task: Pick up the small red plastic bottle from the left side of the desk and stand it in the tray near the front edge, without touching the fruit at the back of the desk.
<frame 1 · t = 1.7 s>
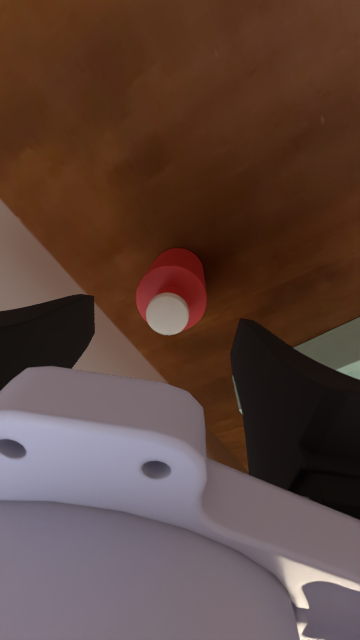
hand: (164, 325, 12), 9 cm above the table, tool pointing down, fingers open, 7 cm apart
tray: (325, 388, 24), on the table
bottle: (177, 274, 20), on the table
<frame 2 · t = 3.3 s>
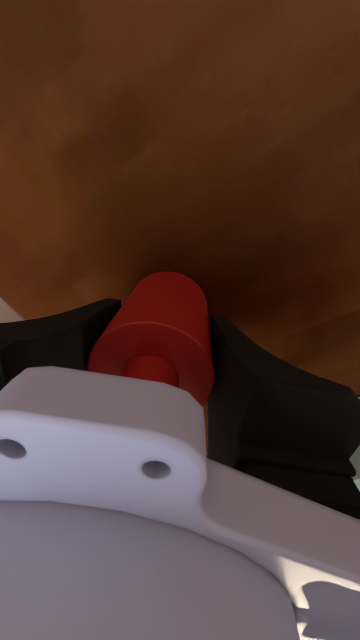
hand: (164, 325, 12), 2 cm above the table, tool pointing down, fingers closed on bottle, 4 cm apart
bottle: (168, 309, 14), on the table, touching gripper
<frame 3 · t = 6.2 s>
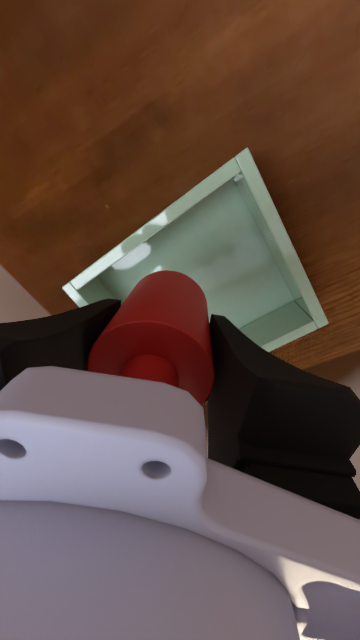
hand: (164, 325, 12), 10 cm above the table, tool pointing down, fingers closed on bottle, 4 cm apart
tray: (195, 285, 21), on the table
bottle: (168, 308, 14), point 8 cm above the table, touching gripper
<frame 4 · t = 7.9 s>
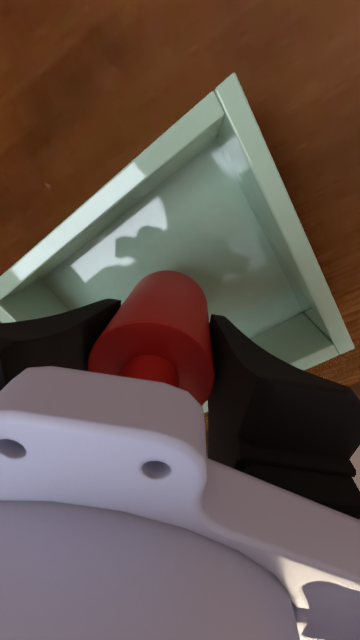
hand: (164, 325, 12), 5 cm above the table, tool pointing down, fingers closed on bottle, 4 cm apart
tray: (172, 292, 16), on the table
bottle: (168, 308, 14), point 3 cm above the table, touching gripper
when the fingers open (2 cm above the table, at t = 9.1 s): bottle stays where it is, resting on tray.
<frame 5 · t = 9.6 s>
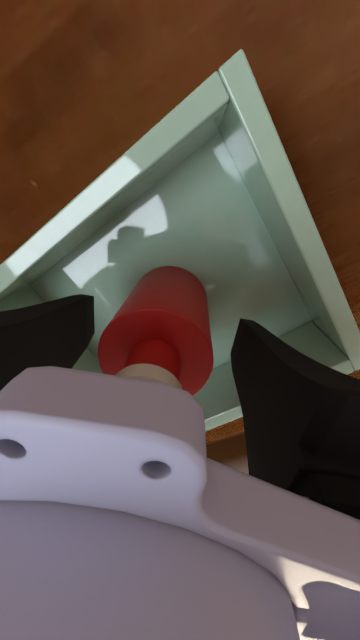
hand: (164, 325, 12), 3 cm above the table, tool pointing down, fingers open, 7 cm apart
tray: (171, 299, 15), on the table
bottle: (170, 302, 14), resting on tray
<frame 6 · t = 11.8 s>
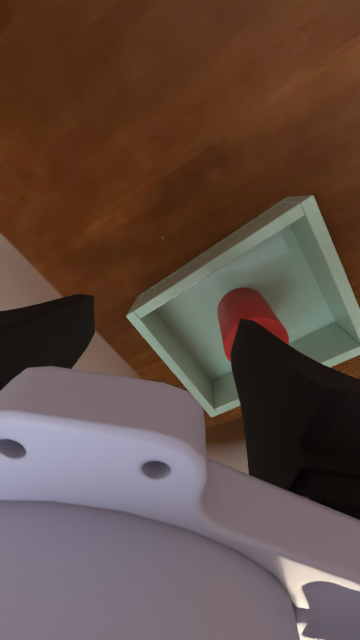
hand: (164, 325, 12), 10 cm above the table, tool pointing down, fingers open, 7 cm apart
tray: (240, 308, 22), on the table
bottle: (241, 310, 22), resting on tray
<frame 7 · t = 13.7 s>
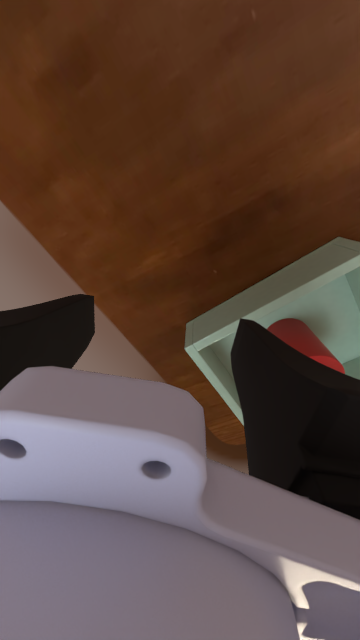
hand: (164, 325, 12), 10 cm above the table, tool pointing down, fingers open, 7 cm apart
tray: (284, 336, 23), on the table
bottle: (285, 338, 23), resting on tray
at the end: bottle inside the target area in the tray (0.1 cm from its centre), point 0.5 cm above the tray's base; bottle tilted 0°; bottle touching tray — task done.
